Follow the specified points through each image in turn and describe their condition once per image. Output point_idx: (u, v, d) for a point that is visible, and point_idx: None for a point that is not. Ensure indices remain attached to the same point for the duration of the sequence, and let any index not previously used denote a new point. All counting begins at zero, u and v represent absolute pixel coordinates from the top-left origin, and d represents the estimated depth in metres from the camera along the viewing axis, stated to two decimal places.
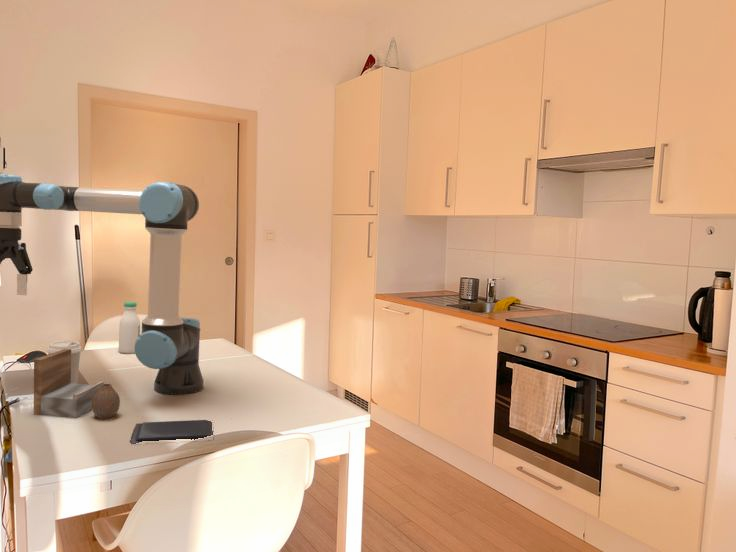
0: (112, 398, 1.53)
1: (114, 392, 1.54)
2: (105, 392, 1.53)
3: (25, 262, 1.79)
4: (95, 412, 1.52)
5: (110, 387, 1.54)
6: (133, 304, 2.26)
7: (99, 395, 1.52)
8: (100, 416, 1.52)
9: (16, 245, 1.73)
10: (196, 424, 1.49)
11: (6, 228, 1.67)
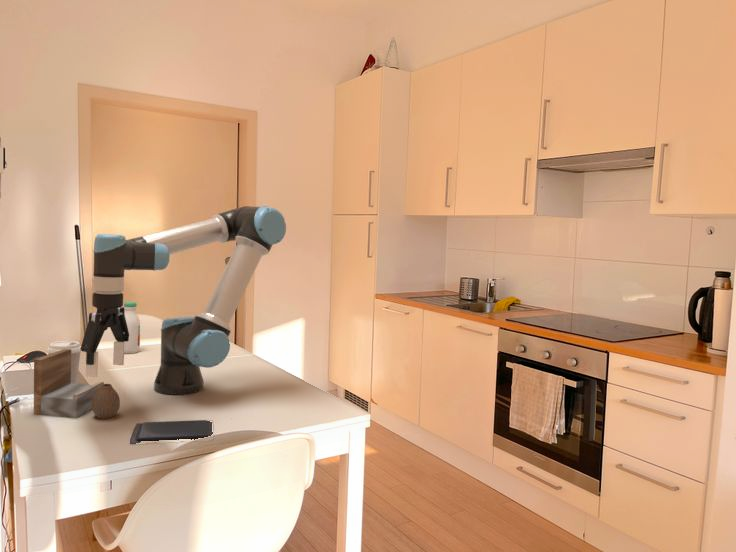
0: (112, 398, 1.53)
1: (114, 392, 1.54)
2: (105, 392, 1.53)
3: (123, 328, 1.61)
4: (95, 412, 1.52)
5: (110, 387, 1.54)
6: (133, 304, 2.26)
7: (99, 395, 1.52)
8: (100, 416, 1.52)
9: (116, 311, 1.55)
10: (196, 424, 1.49)
11: (109, 295, 1.49)
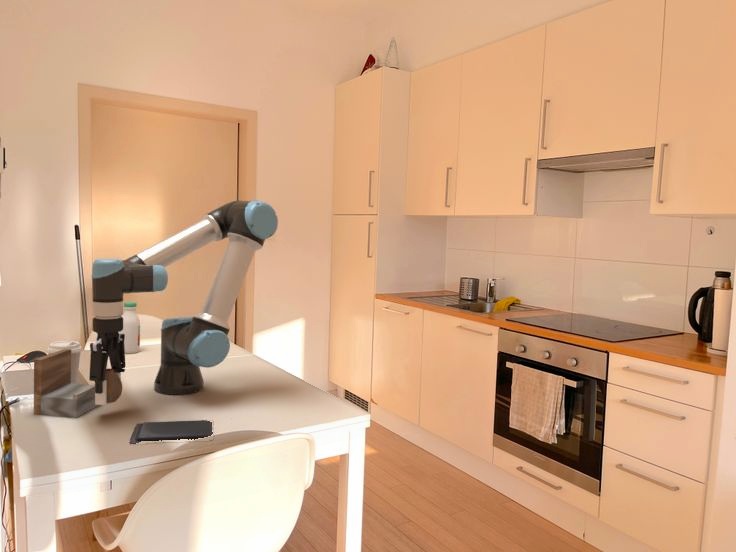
0: (114, 382, 1.53)
1: (116, 377, 1.54)
2: (108, 376, 1.53)
3: (120, 356, 1.59)
4: None
5: (112, 372, 1.54)
6: (133, 304, 2.26)
7: None
8: None
9: (117, 334, 1.56)
10: (196, 424, 1.49)
11: (109, 320, 1.50)
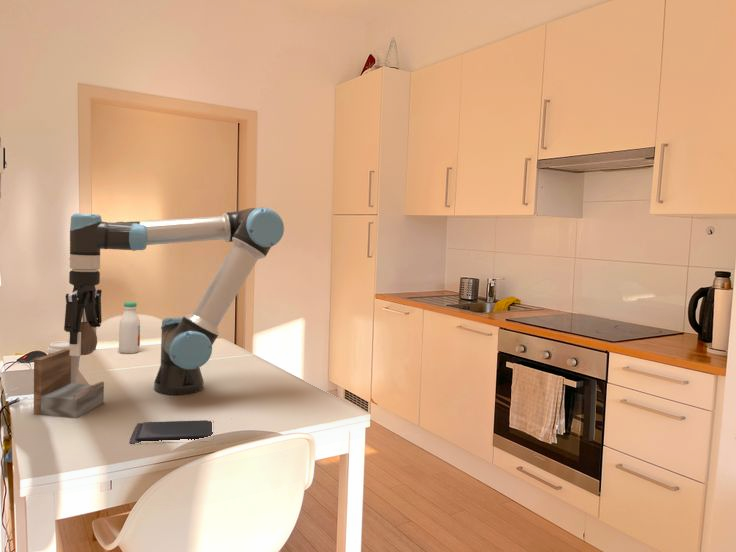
0: (89, 335, 1.56)
1: (91, 330, 1.58)
2: (83, 329, 1.56)
3: (96, 311, 1.63)
4: None
5: (87, 325, 1.57)
6: (133, 304, 2.26)
7: None
8: None
9: (93, 289, 1.59)
10: (196, 424, 1.49)
11: (86, 272, 1.53)
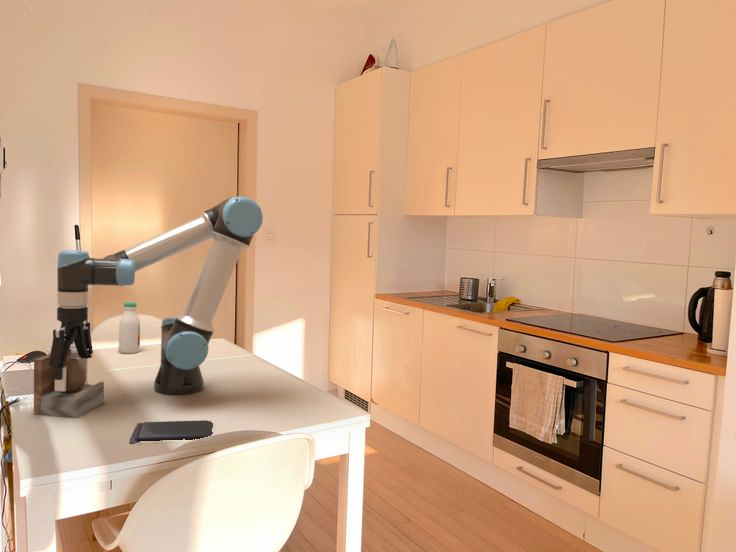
0: (77, 372, 1.57)
1: (80, 367, 1.59)
2: (71, 366, 1.57)
3: (87, 344, 1.65)
4: None
5: (76, 362, 1.58)
6: (133, 304, 2.26)
7: None
8: (66, 390, 1.57)
9: (82, 324, 1.61)
10: (197, 424, 1.49)
11: (73, 309, 1.55)
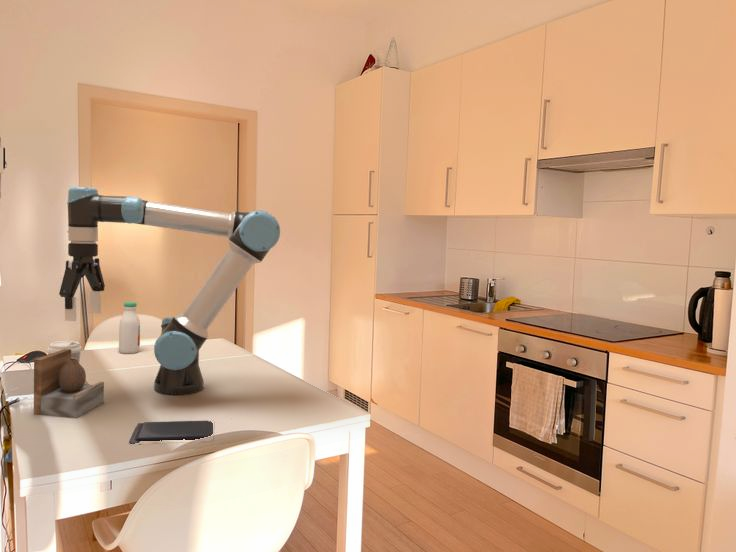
0: (77, 372, 1.57)
1: (80, 367, 1.59)
2: (71, 366, 1.57)
3: (98, 278, 1.70)
4: (61, 386, 1.57)
5: (76, 362, 1.58)
6: (133, 304, 2.26)
7: (64, 369, 1.57)
8: (66, 390, 1.57)
9: (91, 261, 1.64)
10: (197, 425, 1.49)
11: (85, 244, 1.58)
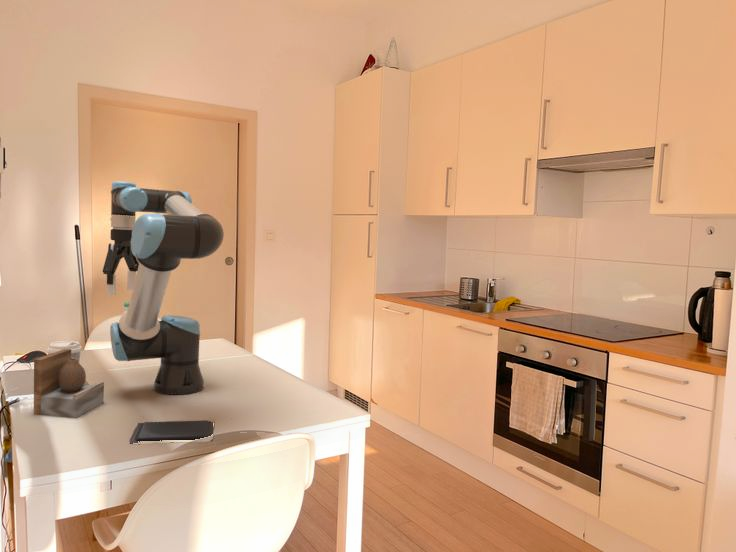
0: (77, 372, 1.57)
1: (80, 367, 1.59)
2: (71, 366, 1.57)
3: (134, 260, 1.98)
4: (61, 386, 1.57)
5: (76, 362, 1.58)
6: None
7: (64, 369, 1.57)
8: (66, 390, 1.57)
9: (129, 245, 1.93)
10: (197, 425, 1.49)
11: (124, 230, 1.87)
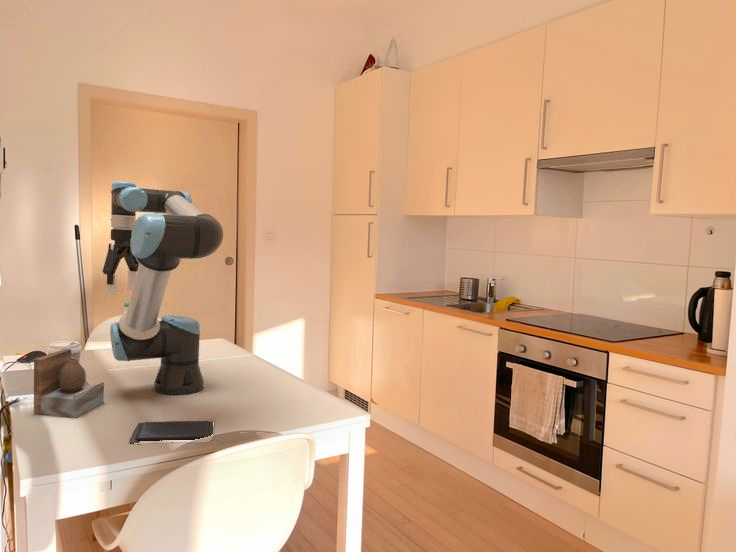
0: (77, 372, 1.57)
1: (80, 367, 1.59)
2: (71, 366, 1.57)
3: (135, 260, 1.98)
4: (61, 386, 1.57)
5: (76, 362, 1.58)
6: None
7: (64, 369, 1.57)
8: (66, 390, 1.57)
9: (130, 245, 1.93)
10: (197, 425, 1.49)
11: (124, 230, 1.87)
